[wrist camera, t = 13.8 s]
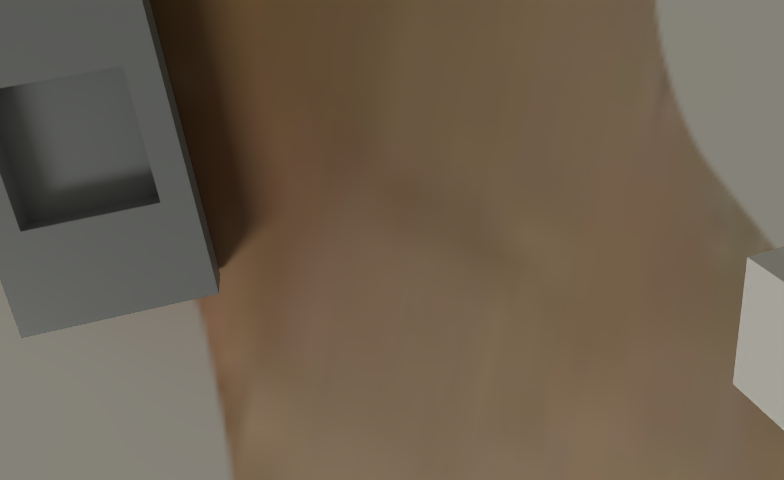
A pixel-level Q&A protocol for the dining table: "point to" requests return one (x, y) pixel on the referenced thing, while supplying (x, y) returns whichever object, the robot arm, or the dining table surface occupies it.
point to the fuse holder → (93, 168)
